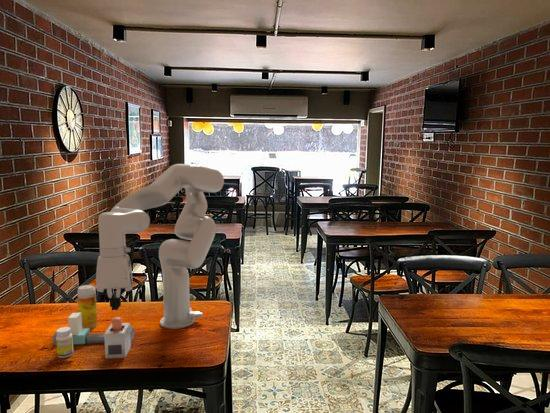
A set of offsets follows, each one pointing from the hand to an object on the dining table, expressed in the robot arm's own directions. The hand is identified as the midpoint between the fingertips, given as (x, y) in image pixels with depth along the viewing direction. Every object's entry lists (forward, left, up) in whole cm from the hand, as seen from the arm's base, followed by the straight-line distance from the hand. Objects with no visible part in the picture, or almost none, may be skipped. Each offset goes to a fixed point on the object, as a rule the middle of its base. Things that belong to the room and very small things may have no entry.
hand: (115, 308), depth 137 cm
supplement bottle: (+16, 0, -15) cm, 22 cm away
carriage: (+16, -9, -15) cm, 23 cm away
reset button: (0, 0, -7) cm, 7 cm away
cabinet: (0, 0, -15) cm, 15 cm away
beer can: (+16, -22, -15) cm, 31 cm away
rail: (+10, -9, -15) cm, 20 cm away
